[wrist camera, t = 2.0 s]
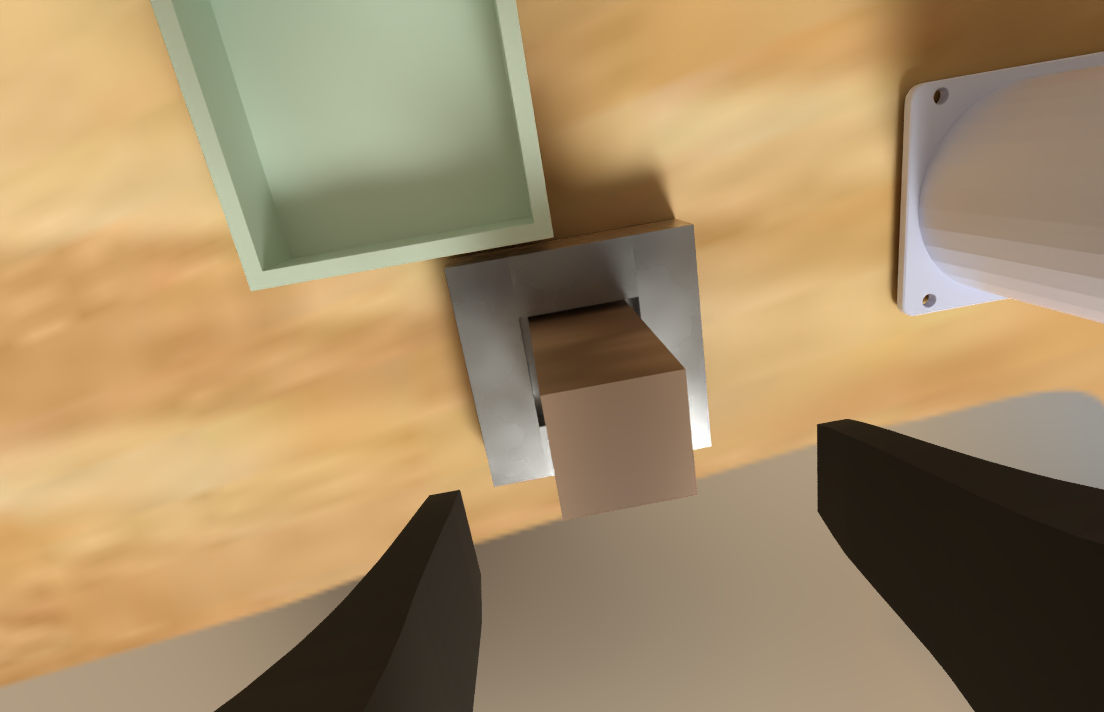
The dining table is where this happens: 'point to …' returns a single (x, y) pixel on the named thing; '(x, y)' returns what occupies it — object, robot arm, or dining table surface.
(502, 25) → the bin
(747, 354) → the dining table surface
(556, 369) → the strut
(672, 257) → the socket block
